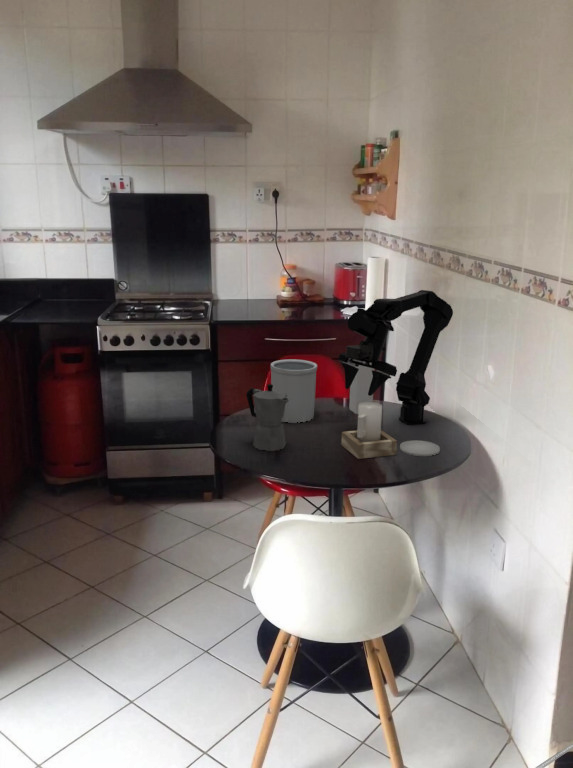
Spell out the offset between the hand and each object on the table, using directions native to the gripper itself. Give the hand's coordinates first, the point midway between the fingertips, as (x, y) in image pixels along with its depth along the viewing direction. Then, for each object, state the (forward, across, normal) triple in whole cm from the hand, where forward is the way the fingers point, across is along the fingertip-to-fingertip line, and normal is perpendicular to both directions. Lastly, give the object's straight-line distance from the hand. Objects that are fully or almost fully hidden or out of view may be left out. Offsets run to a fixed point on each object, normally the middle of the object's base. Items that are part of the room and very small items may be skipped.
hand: (357, 392), depth 194 cm
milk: (+5, -18, +24) cm, 30 cm away
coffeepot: (+23, -10, -18) cm, 31 cm away
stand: (+15, +10, +1) cm, 18 cm away
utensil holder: (+14, -26, +3) cm, 30 cm away
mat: (+10, +19, +11) cm, 24 cm away
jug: (+15, +10, -1) cm, 18 cm away
